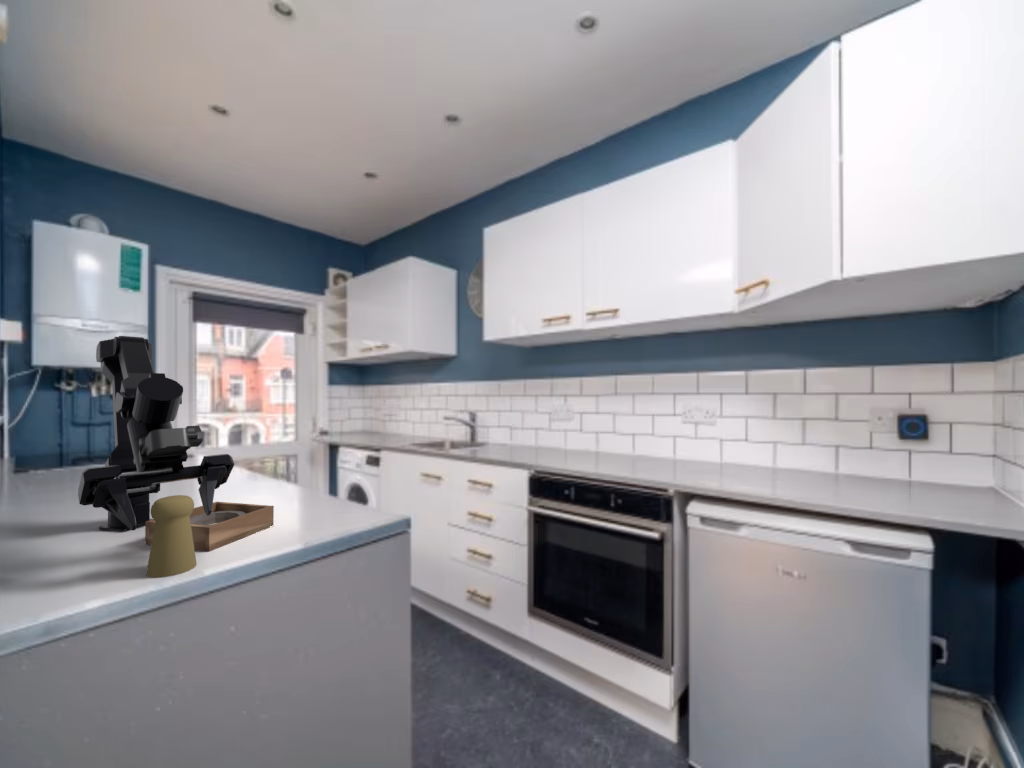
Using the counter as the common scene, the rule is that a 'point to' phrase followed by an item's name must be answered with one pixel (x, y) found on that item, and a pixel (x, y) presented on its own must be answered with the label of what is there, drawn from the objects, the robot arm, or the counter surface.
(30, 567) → the counter surface
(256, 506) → the socket box
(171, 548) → the olive knobbed peg
